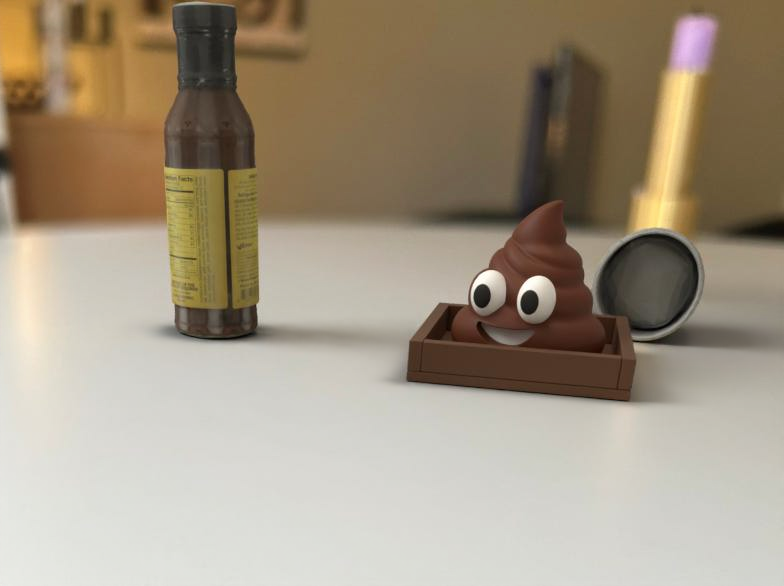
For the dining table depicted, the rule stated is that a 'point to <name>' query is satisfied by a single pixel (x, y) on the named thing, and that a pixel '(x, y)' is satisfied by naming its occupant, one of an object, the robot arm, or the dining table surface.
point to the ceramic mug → (650, 282)
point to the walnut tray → (522, 361)
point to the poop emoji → (532, 292)
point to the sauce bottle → (210, 180)
